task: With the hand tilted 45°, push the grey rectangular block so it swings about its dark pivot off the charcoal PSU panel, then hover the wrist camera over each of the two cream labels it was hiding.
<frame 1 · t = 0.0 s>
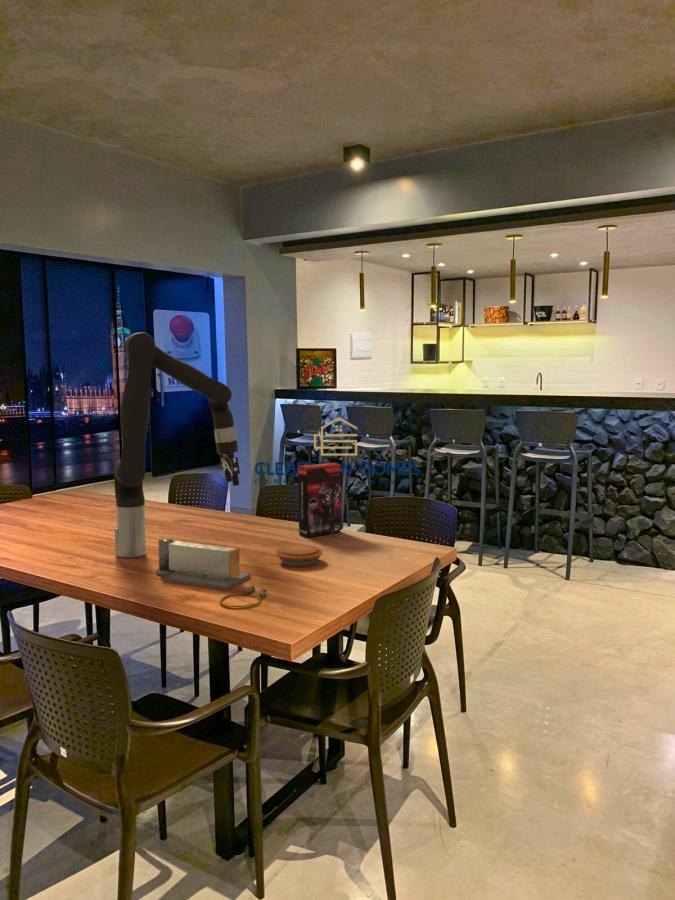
hand: (232, 483, 247), 22 cm above the table, tool pointing down, fingers open, 8 cm apart
graphics card box: (319, 534, 267), on the table
extension cord: (245, 602, 189), on the table
psu panel: (207, 578, 207), on the table
grey rectangular block: (197, 558, 208), point 6 cm above the table, hinge at 0.0°
pie: (299, 562, 227), on the table
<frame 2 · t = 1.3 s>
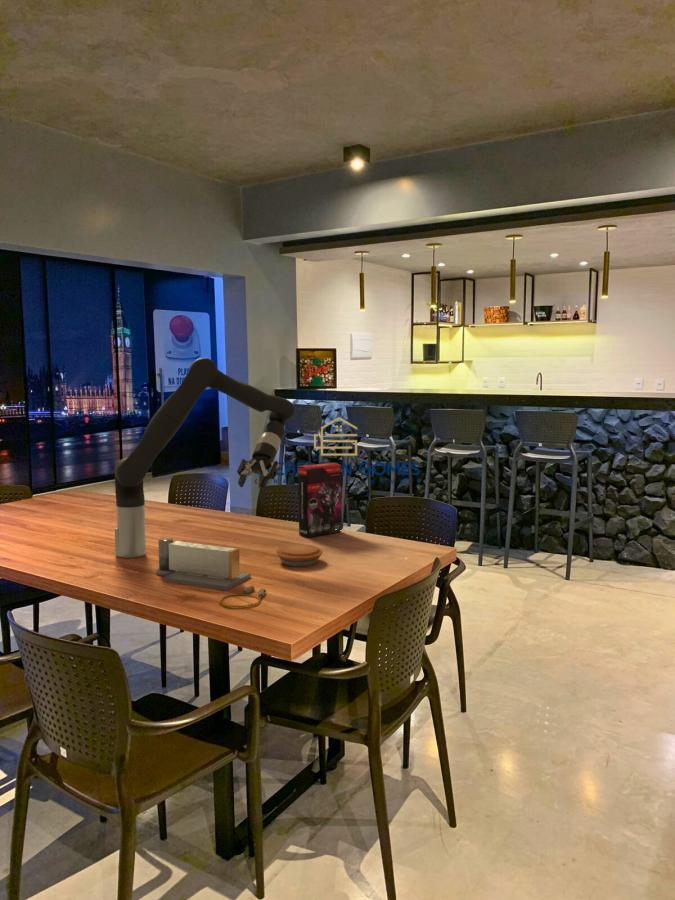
hand: (250, 486, 226), 25 cm above the table, tool tilted 45°, fingers open, 7 cm apart
nothing on the table moved.
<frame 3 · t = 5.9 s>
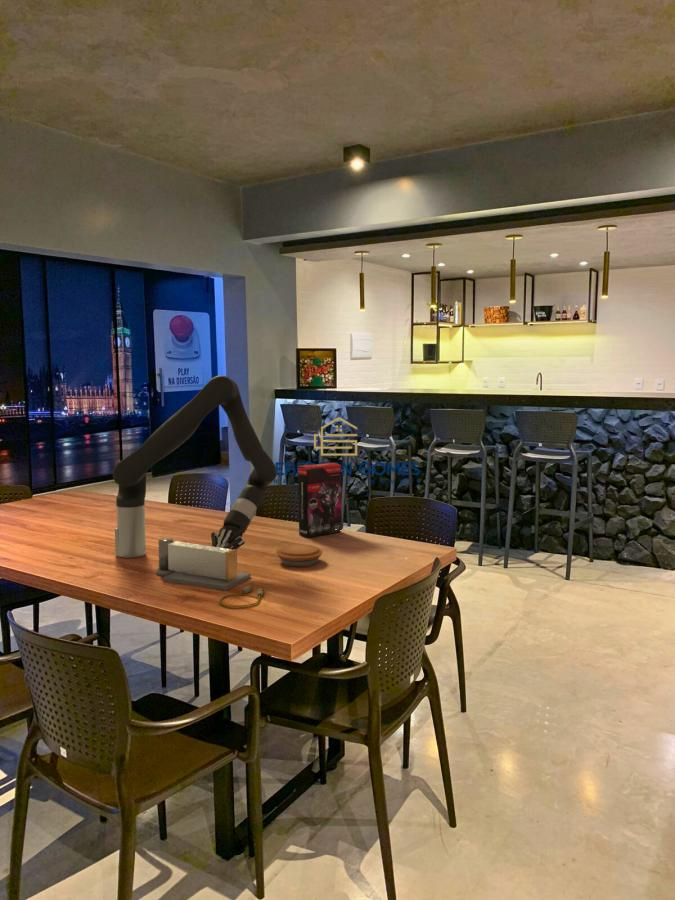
hand: (214, 562, 208), 5 cm above the table, tool tilted 45°, fingers closed
grey rectangular block: (195, 558, 207), point 6 cm above the table, hinge at 3.5°, touching gripper
everything else where it was.
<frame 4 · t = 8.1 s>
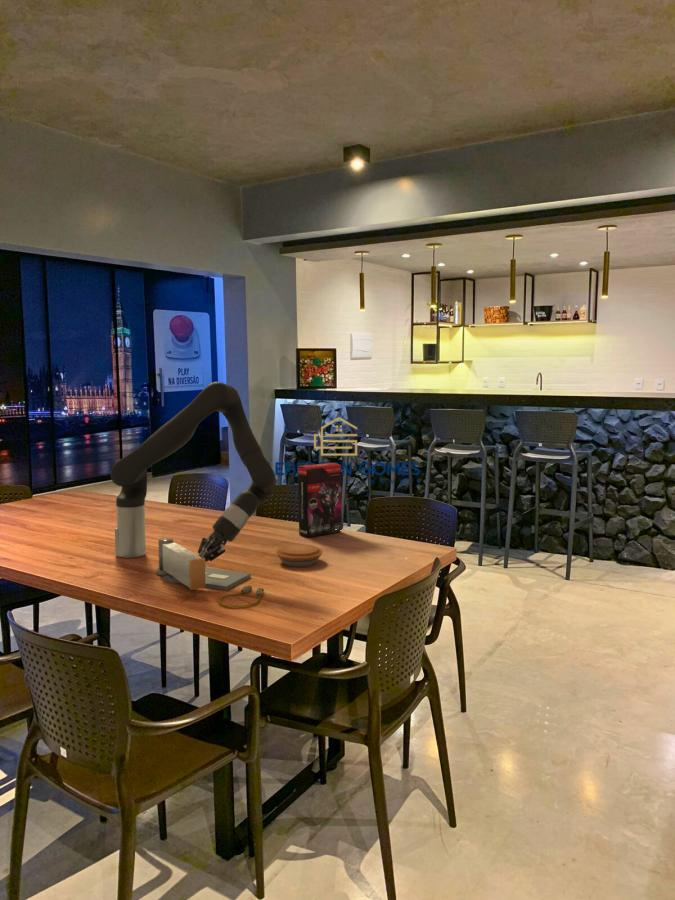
hand: (194, 569, 200), 5 cm above the table, tool tilted 45°, fingers closed
grey rectangular block: (179, 562, 203), point 6 cm above the table, hinge at 33.0°, touching gripper
everything else where it was.
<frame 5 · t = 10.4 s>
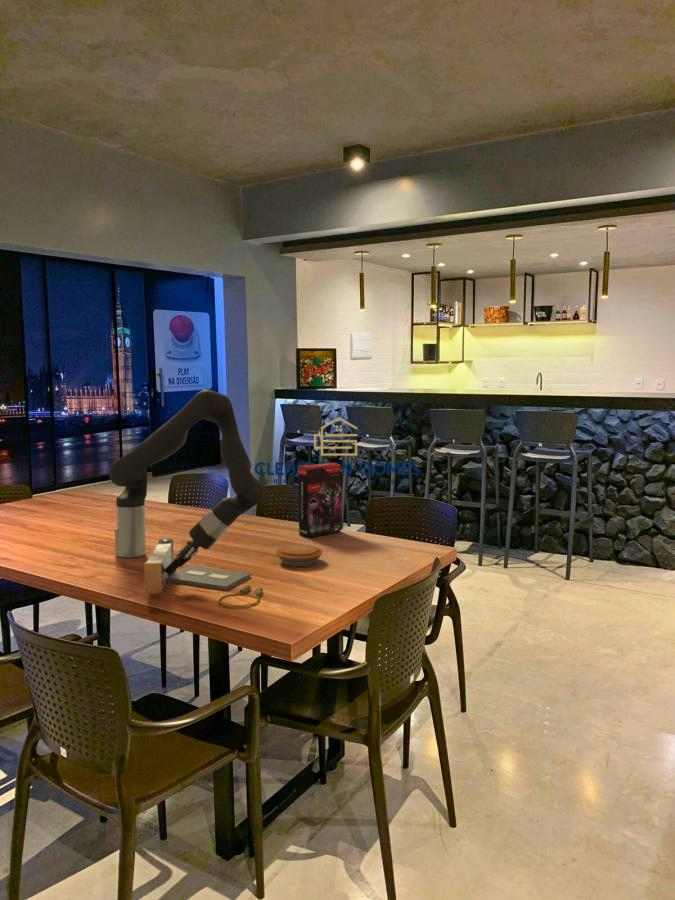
hand: (167, 572, 197), 5 cm above the table, tool tilted 45°, fingers closed
grey rectangular block: (160, 564, 201), point 6 cm above the table, hinge at 61.4°, touching gripper
everything else where it was.
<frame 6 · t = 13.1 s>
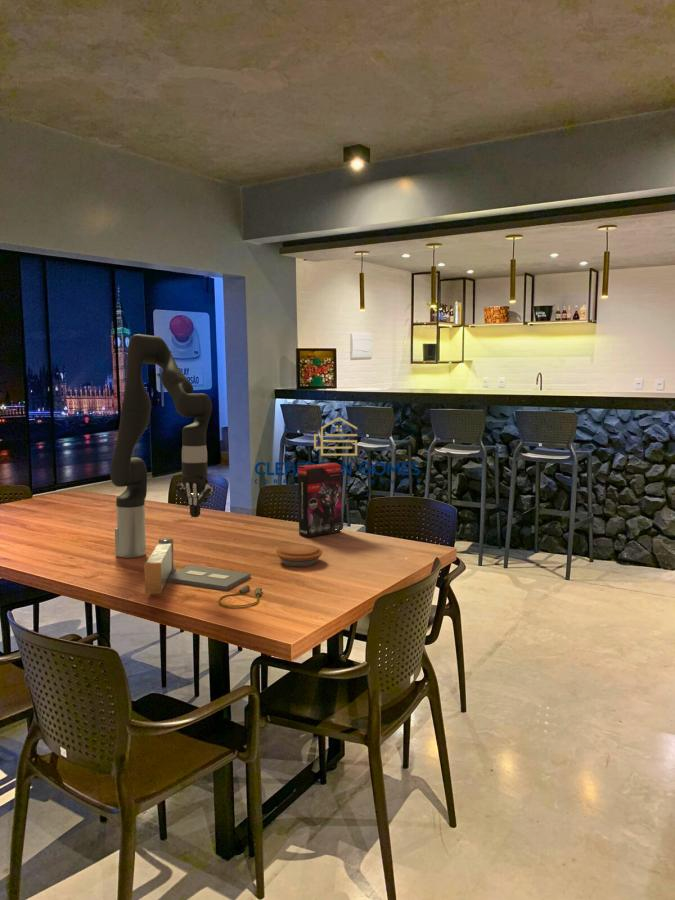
hand: (195, 516, 207), 19 cm above the table, tool pointing down, fingers closed
grey rectangular block: (160, 564, 201), point 6 cm above the table, hinge at 61.4°
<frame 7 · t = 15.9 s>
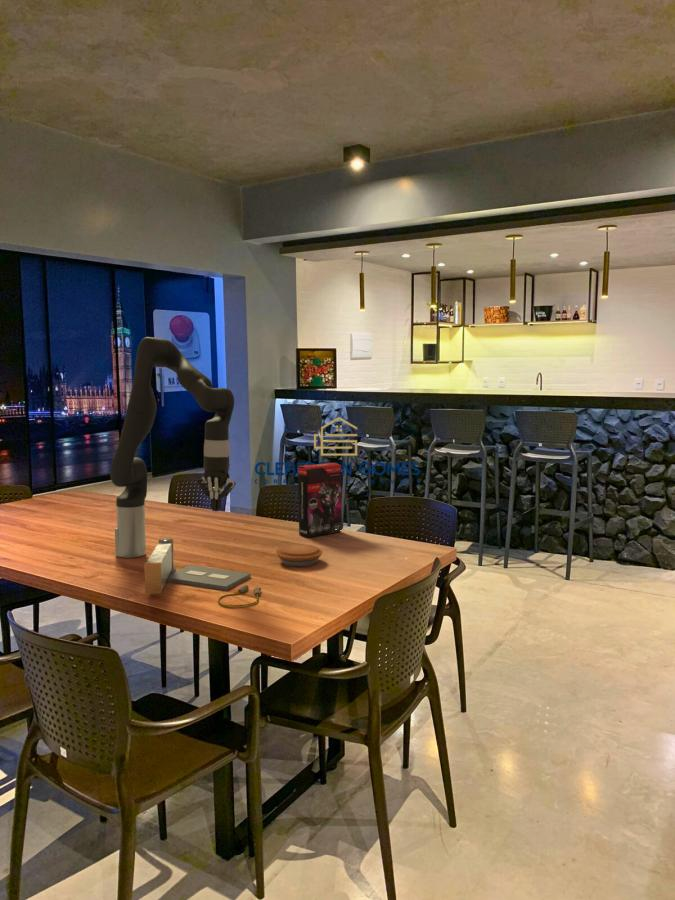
hand: (216, 510, 208), 21 cm above the table, tool pointing down, fingers closed
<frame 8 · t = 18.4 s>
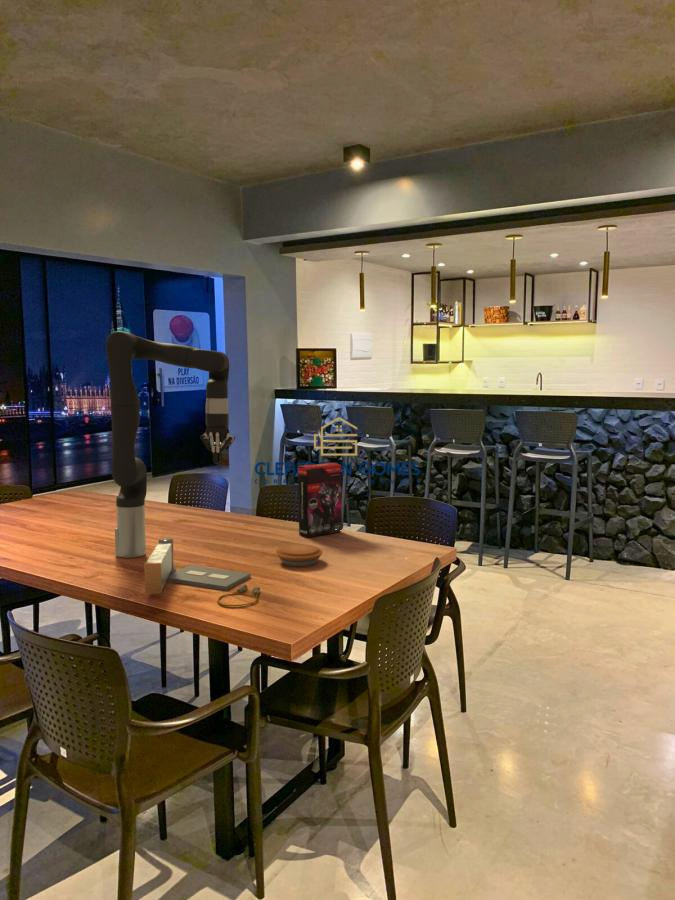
hand: (217, 463, 229), 32 cm above the table, tool pointing down, fingers closed
at the end: grey rectangular block at +61° (first picture: +0°); extension cord moved 1.7 cm from its start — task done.
